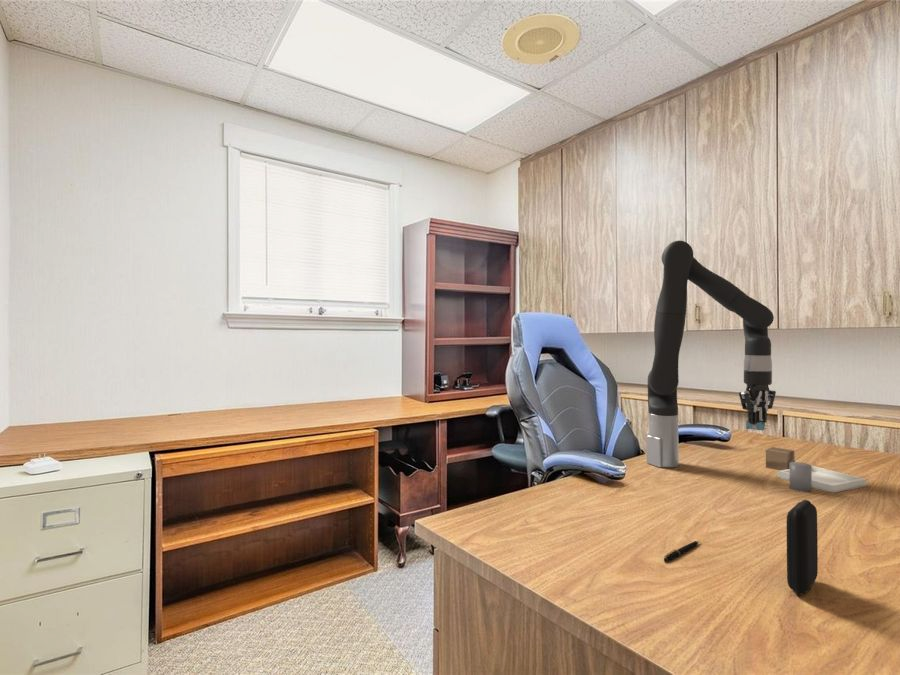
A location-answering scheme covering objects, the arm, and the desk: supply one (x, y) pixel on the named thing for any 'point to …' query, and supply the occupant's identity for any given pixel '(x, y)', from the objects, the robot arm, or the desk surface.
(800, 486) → the dark grey cylinder
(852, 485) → the grey tray
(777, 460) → the walnut block
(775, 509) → the desk surface
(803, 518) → the carrying case or bag
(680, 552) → the fountain pen
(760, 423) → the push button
